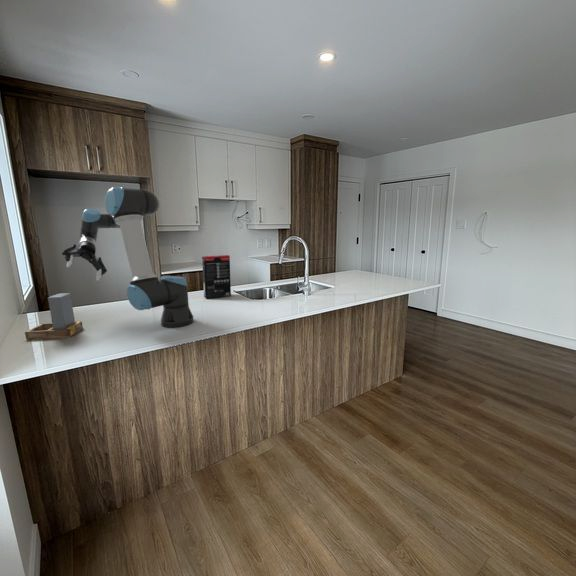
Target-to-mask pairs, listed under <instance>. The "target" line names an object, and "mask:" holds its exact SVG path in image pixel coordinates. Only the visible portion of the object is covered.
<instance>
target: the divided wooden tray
mask: <svg viewBox="0 0 576 576" xmlns="http://www.w3.org/2000/svg"><path fill="white" fill-rule="evenodd" d="M83 328H84V327H83V322H82V321H75V324H74V325H71V326H70V327H69V328H67V329H63V330H53V324H52V322H49V323H48V322H47V323H40V324H38V325H36V326H34V327H33V328H31V329H29V330H26V331H25V332H24V335H25V340H26V341H27V340H28V341H30V340H45V339H62V338H64V339H65V338H71V337H72V336H73V335H75V334H76V333H78V332H80V331H81V330H82V329H83Z"/></svg>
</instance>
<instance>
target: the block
mask: <svg viewBox="0 0 576 576" xmlns="http://www.w3.org/2000/svg"><path fill="white" fill-rule="evenodd" d="M71 295H72V294H71V293H70V292H65V293H56V294H53V295H51V296H49V297H47V301H48V306H49V312H50V318H51V323H52V324H53V330H63V329H67V328H69V327H70V326H71V325H74V324H75V322H76V320H75V314H74V308H73V301H72V296H71Z"/></svg>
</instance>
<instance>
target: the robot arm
mask: <svg viewBox="0 0 576 576" xmlns="http://www.w3.org/2000/svg"><path fill="white" fill-rule="evenodd" d="M104 199H105V200H104V207H105V211H106V212H107V213H101V212H100V211H99V210H97V209H93V208H86V209H84V210H83V212H82V216H81V225H80V226H81V227H80V232H79V241H78V245H76V244H75V243H74V244H73V245H72V246H70V247H68V248H67V249H64V250H63V251H62V253H61V255H63V256H64V259H65V261H66V268H69V267H71V265H72V264H73V259H74V258H82V259H84V260H86V261H87V262H88V263H90V264H91V265H92V266H93V268H94V269H95V270H96V279H95V281H97V282H99V281H100V280H101V278H102V276H103V275H105V274H106V273H107V272H108V270H107V268H106V266H105V265H104V262H103V261H102V257H101V256H99V257H97V256H96V249H97V238H98V233H99V232H98V231H99V229H120V231H121V235H122V240H123V244H124V247H125V249H124V250H125V252H126V256H127V260H128V265H129V269H130V272H131V277H132V278H131V279H130V281H129V285H128V286H127V288H126V297H127V301H128V302H129V303H130V305H131V306H132V307H133V308H134V309H136V310H138V311H144V310H151V309H154V308H157V307H161V306H162V307H163V311H162V314H161V318H160V325H161V326H162V327H165V328H179V327H185V326H189V325H191V324H193V323H194V315H193V313H192V311H191V309H190V305H189V294H188V293H189V292H188V282H187V279H186V278H185V277H183V276H177V275H176V276H175V275H164V276H163V275H162V276H160V279H159V277H158V276H157V275H156V274H154V271H153V267H152V263H151V258H150V255H149V250H148V247H147V242H146V238H145V234H144V230H143V225H142V220H143V219H144V217H145V218H147V217H151V216H153V215H155V214H156V213H157V212H158V211H159V208H160V202H159V199H158V197H157V195H155V194H154V192H152V191H150V190H148V189H145V188H144V189H143V188H142V189H141V188H130V187H122V186H120V187H111V188H109V189H108V191H107V192H106V195H105V198H104ZM77 246H78V247H77Z"/></svg>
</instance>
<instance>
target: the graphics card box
mask: <svg viewBox="0 0 576 576" xmlns="http://www.w3.org/2000/svg"><path fill="white" fill-rule="evenodd" d="M230 258H231V256H230V255H229V254H226V255H209V256H208V255H206V256H201V261H202V263H201V264H202V266H201V267H202V277H203V278H202V279H203V280H202V282H203V297H204V298H205V299H206V300H207V299H214V298H217V299H218V298H225V297H226V296H227V297H231V296H232V291H231V290H232V289H231V288H232V287H231V259H230Z"/></svg>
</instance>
